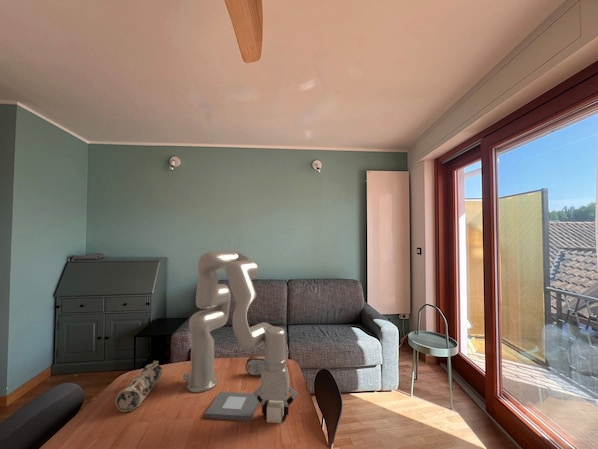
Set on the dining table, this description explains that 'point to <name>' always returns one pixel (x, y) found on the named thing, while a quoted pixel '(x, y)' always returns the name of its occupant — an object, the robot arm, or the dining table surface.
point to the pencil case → (139, 388)
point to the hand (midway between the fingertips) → (275, 415)
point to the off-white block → (275, 411)
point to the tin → (255, 365)
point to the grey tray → (233, 406)
